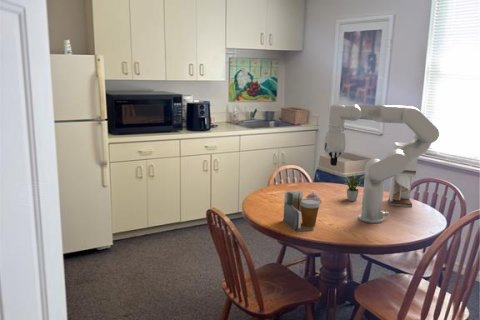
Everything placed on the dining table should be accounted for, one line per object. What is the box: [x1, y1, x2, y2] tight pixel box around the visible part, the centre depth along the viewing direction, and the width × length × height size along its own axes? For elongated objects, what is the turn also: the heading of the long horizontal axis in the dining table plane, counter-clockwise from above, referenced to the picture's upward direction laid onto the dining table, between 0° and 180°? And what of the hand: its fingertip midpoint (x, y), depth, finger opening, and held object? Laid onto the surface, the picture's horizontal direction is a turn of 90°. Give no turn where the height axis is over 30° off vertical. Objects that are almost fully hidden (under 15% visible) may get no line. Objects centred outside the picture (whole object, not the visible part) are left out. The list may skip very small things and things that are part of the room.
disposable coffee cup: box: [300, 198, 321, 228], centre depth 199 cm, size 10×10×12 cm
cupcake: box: [305, 190, 323, 210], centre depth 223 cm, size 9×9×10 cm
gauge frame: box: [282, 190, 314, 232], centre depth 197 cm, size 10×15×15 cm, turn 16°
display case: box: [388, 141, 419, 208], centre depth 234 cm, size 11×11×35 cm
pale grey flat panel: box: [290, 193, 302, 229], centre depth 197 cm, size 1×13×14 cm, turn 16°
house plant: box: [343, 173, 365, 202], centre depth 240 cm, size 14×14×16 cm
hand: (333, 165), depth 209 cm, fingers closed
